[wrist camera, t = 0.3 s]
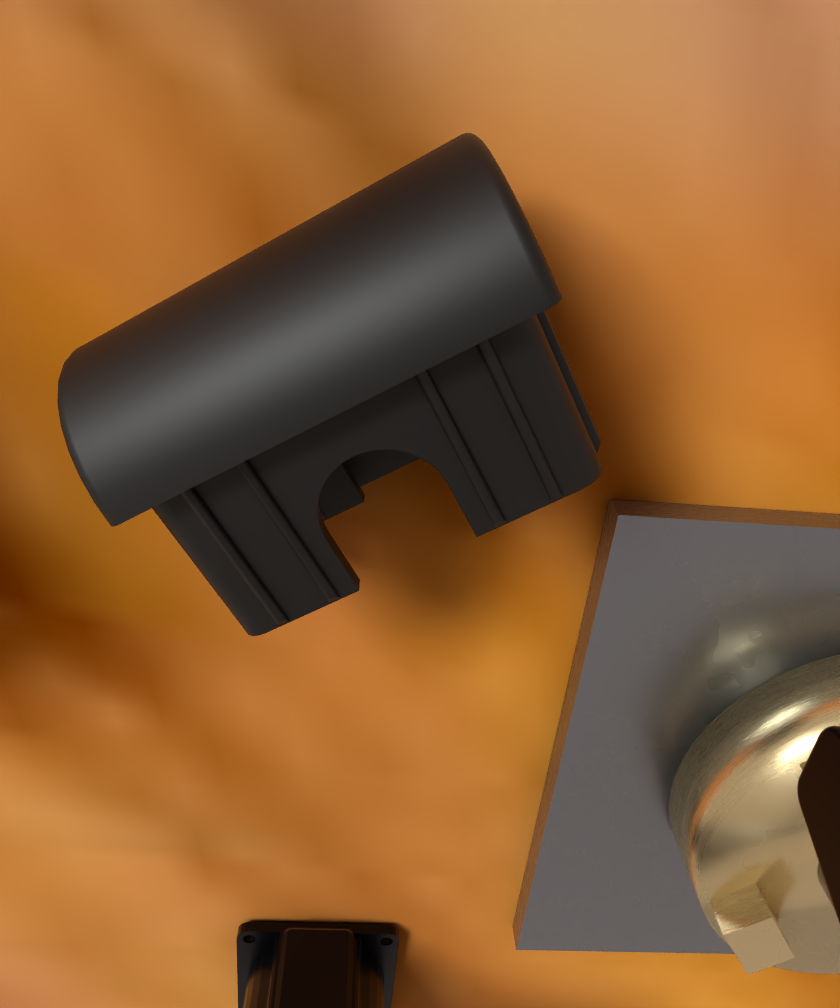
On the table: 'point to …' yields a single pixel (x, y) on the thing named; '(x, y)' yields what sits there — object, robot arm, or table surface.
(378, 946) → the robot arm
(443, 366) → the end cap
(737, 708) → the gold disc with bar
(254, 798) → the table surface
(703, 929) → the flange plate
